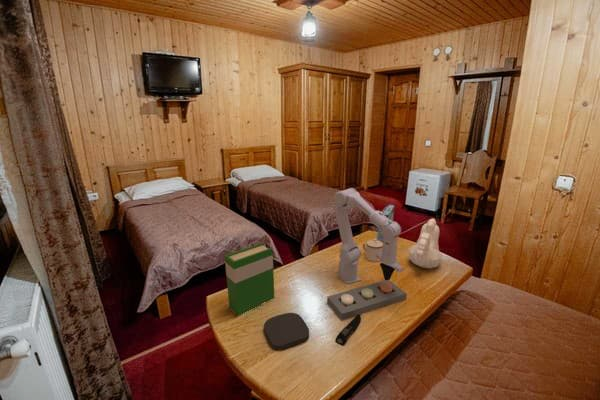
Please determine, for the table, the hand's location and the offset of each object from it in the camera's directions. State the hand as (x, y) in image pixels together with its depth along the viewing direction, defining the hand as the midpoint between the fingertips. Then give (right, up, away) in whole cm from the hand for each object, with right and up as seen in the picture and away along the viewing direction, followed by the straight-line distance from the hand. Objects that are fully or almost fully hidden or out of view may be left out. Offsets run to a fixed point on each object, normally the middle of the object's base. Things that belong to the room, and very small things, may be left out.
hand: (387, 279), depth 123 cm
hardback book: (-58, -10, -2) cm, 59 cm away
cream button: (-18, -8, -6) cm, 21 cm away
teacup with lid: (+2, +2, +36) cm, 36 cm away
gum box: (+14, +7, +51) cm, 53 cm away
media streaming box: (-43, -15, -18) cm, 49 cm away
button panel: (-9, -9, -2) cm, 13 cm away
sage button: (-9, -7, -2) cm, 12 cm away
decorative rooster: (+25, -1, +26) cm, 36 cm away
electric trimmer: (-20, -15, -18) cm, 31 cm away
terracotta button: (0, -6, +2) cm, 6 cm away
